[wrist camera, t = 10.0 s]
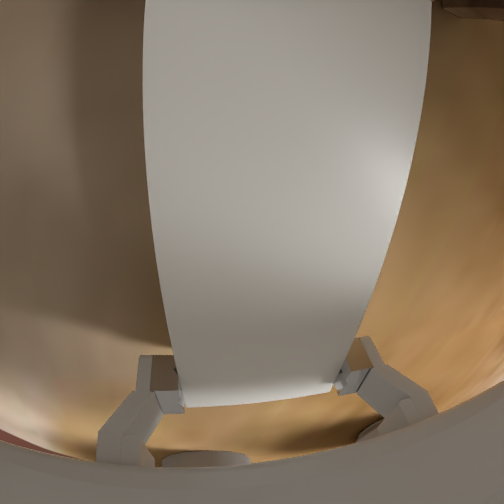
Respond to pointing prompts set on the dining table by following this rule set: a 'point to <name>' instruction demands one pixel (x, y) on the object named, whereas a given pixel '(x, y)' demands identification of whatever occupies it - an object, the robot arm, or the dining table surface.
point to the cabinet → (476, 8)
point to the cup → (205, 459)
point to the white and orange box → (275, 180)
